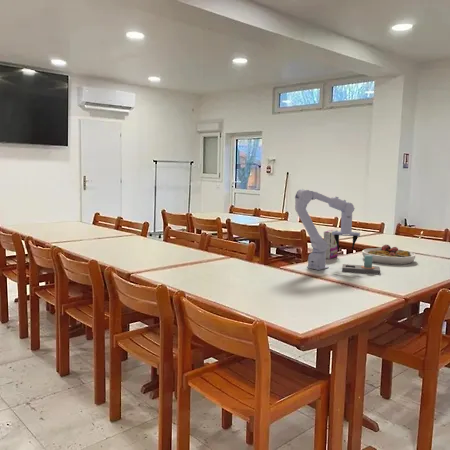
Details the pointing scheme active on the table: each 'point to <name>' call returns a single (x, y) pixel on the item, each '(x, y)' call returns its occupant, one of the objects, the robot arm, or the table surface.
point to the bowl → (389, 255)
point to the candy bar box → (330, 244)
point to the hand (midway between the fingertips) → (345, 248)
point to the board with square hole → (360, 269)
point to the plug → (368, 261)
